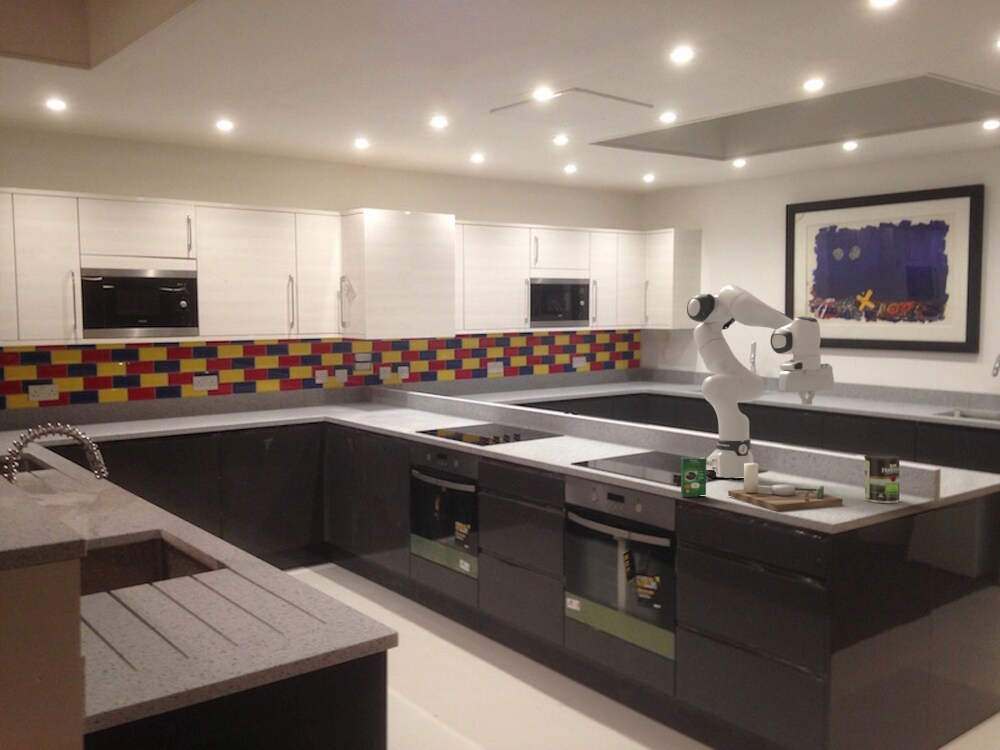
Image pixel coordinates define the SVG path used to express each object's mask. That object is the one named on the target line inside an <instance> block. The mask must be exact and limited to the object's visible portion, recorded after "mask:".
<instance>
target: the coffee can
mask: <svg viewBox="0 0 1000 750" xmlns="http://www.w3.org/2000/svg"><path fill="white" fill-rule="evenodd" d="M900 459H901V457H900V456H898V455H892V454H877V453H875V454H874V453H873V454H865V455H864V501H866V502H868V503H869V502H870V503H876V504H897V503H899V502H900Z"/></svg>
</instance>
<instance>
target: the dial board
mask: <svg viewBox="0 0 1000 750" xmlns="http://www.w3.org/2000/svg"><path fill="white" fill-rule="evenodd" d="M795 488H799V487H796V486H795ZM816 489H817V491H802V490H795V495H791V496H781V495H774V494H772V492H756V493H749V492H744V488H743V489H735V490H732V489H731V490H727V491H728V493H727V494H728V495H727V496H731V497H734V498H737V499H740V500H743V501H742V502H744V501H746V502H745V503H747V502H749V503H748V504H750V503H752V504H751V505H754V504H755V506H757V505H758V506H757V507H761V508H763V509H767V510H771V511H774V512H784V511H794V510H797V511H798V510H804V509H805V510H806V509H816V508H826V507H836V506H843V498H842V497H838V496H834V495H831V494H825V487H824V485H819V487H818V488H816ZM731 497H730V498H731ZM734 498H733V499H734ZM737 499H736V500H737ZM740 500H739V501H740Z"/></svg>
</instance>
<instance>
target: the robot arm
mask: <svg viewBox="0 0 1000 750" xmlns="http://www.w3.org/2000/svg"><path fill="white" fill-rule="evenodd" d="M688 300H689V301H688V302H687V306H686V313H687V315H688V317H689V318H690V319H691V320H692V321H695V322H696V323H700V324H698V325H696V327H695V328H694V330H693V338H694V339H693V340H694V342H695V346H696V348H697V351H698V354H699V355H700V357H701V359H702V361H703V362H704V365H705V367H706V369H707V370H708V371H709V372H710V373H711V374H712V375H710V376H707V377H705V379H703V381H702V385H701V393H702V396H703V398H704V399H705V400H706V402H709V404H710V405H711V406H712V407H713V409H714V411H715V413H716V417H717V422H718V439H716V440H715V444H716V446H715V448H716V449H715V450H714V451H713V452H712V453H711V454H710V455H709V456H708V457H707V458H706V470H714V471H715V472H716V476H717V477H724V478H730V477H744V463H754V456H753V455H754V454H753V453H752V452H751V448H752V447H751V445H752V443H751V439H750V420H749V417H747V415H745V414H744V413H742V412H741V410H740V408H739V405H738V403H750V402H752V401H756V400H759V399H761V398H762V397H763V396H764V393H765V391H766V385H765V380H764V379H763V378H762V376H761V375H759V374H757V373H755V372H753V371H752V370H749V368H747V367H746V366H745V365H744V364H743V363H742V362H740V361H739V360H738V358H737V357H736V356H735V354H734V353H733V351H732V349H731V347H730V346H729V343H728V341H727V340H726V339H725V337H724V334H723V332H722V331H723V330H724V331H725V330H728V329H729V328H730V326H731V325H733V324H734V323H735V322H738V323H739V324H741V325H744V326H746V327H760V328H761V327H762V328H768V329H773V332H772V333H771V335H770V346H771V348H772V350H773V352H775V353H776V354H779V355H792V358H791V359H789V360H787V361H785V362H782V363H781V364H780V366H779V368H780V370H781V371H780V372H779V377H778V388H779V390H780V392H781V393H798V395H799V398H800V399H801V404H802V405H803V406H807V405H813V399H814V398H815V396H816V392H818V391H819V392H821V391H822V392H823V391H833V390H834V388H835V377H834V371H833V369H834V368H833V366H832V365H830V364H829V363H826V362H825V363H821V352H820V345H821V328H820V323H819V321H818V319H816V318H814V317H810V316H796V317H794V319H793V318H791V317H789V316H788V315H786V314H784V313H783V312H782V311H779V310H778V309H775V308H774V307H772V306H771V305H768V304H767V303H765V302H764V301H762V300H761V299H759V298H758V297H756V296H754V294H752V293H750V292H749V291H748V290H746V289H743V288H742V287H740V286H737V285H735V284H728V285H726V286H724V287H722V288H721V289H720V291H719V293H718V294H716V295H712V294H711V293H707V294H706V293H705V294H704V293H703V294H697V295H694V296H692V297H691V298H690V299H688ZM807 394H808V396H806V395H807Z"/></svg>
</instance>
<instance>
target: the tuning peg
mask: <svg viewBox="0 0 1000 750" xmlns="http://www.w3.org/2000/svg"><path fill="white" fill-rule="evenodd" d="M743 487H744V488H743V489H744V492H749V493H756V492H772V494H774V495H781V496H791V495H795V490H802V491H814V492H817V489H818V488H808V487H806V488H805V487H798V488H795V487H796V486H795V485H792V484H779V483H778V484H772V485H771V486H770V485H768V486H767V485H759V464H758V463H756V462H753V463H744V479H743Z"/></svg>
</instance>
